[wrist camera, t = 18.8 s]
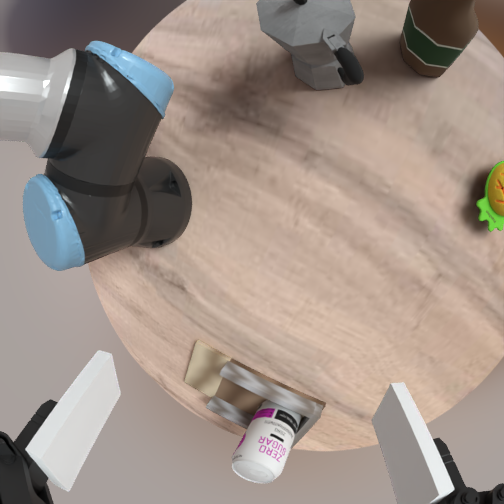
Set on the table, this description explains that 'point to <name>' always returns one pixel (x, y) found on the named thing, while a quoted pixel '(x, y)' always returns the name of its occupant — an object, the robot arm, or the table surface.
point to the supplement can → (266, 443)
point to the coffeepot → (314, 39)
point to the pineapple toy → (493, 199)
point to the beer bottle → (437, 34)
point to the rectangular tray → (245, 390)
